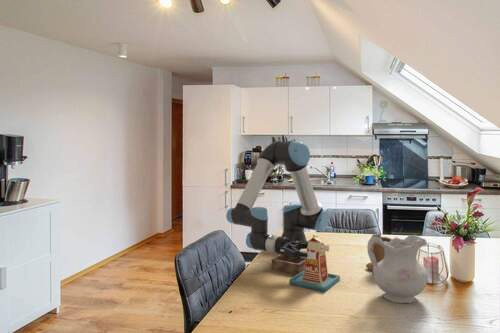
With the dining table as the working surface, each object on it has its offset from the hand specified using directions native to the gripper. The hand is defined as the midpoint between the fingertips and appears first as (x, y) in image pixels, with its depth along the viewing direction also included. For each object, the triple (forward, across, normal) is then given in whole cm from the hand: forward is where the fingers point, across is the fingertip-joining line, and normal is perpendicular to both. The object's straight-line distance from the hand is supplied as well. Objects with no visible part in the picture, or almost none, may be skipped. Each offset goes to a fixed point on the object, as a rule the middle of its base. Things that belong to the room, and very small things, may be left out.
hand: (322, 252), depth 170 cm
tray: (-3, 0, +14) cm, 14 cm away
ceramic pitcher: (+30, +2, +14) cm, 33 cm away
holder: (-20, +12, +14) cm, 27 cm away
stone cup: (+17, +32, +14) cm, 39 cm away
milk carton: (-3, 0, +13) cm, 13 cm away
